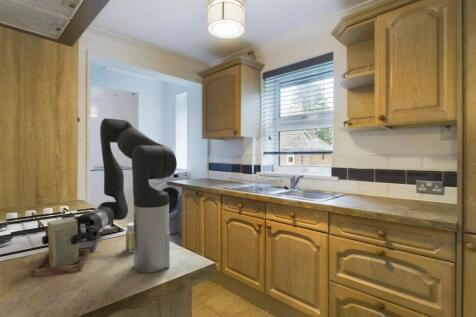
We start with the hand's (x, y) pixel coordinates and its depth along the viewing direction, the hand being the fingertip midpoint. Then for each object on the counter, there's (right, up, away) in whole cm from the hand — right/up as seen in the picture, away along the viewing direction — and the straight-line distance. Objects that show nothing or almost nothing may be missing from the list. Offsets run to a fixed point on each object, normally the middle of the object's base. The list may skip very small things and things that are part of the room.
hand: (58, 241), depth 70 cm
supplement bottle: (+15, -7, +13) cm, 21 cm away
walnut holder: (0, -7, +2) cm, 8 cm away
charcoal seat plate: (-3, -6, +15) cm, 16 cm away
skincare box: (0, -7, +2) cm, 8 cm away
